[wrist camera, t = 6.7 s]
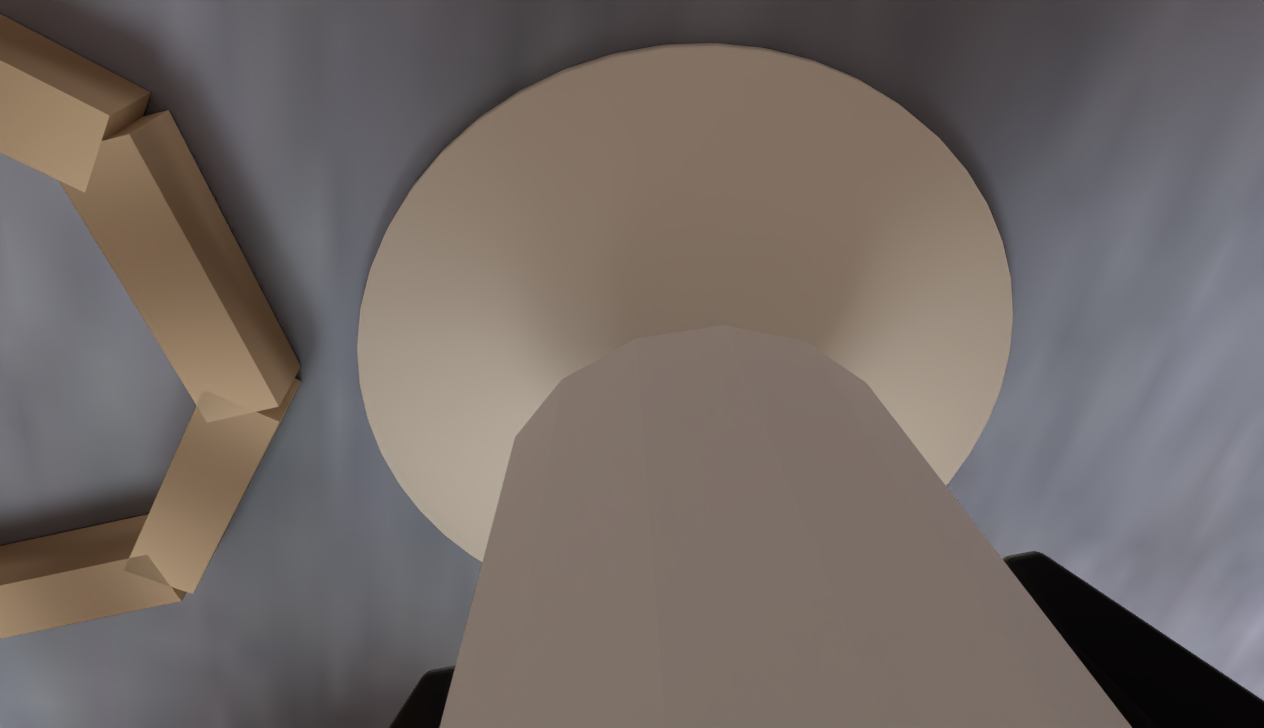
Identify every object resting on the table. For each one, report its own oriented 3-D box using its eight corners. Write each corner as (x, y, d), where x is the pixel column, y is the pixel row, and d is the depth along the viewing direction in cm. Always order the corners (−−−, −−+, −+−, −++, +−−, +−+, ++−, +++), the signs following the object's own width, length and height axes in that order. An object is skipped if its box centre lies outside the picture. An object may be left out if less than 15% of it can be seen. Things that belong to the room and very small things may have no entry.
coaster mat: (999, 537, 17) (1007, 551, 17) (481, 640, 18) (479, 655, 17) (1007, -45, 11) (1021, -41, 11) (243, 144, 12) (235, 153, 12)
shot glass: (784, 702, 14) (936, 1311, 8) (391, 595, 12) (221, 1281, 6) (1045, 393, 11) (1589, 1009, 5) (574, 191, 9) (574, 781, 3)
